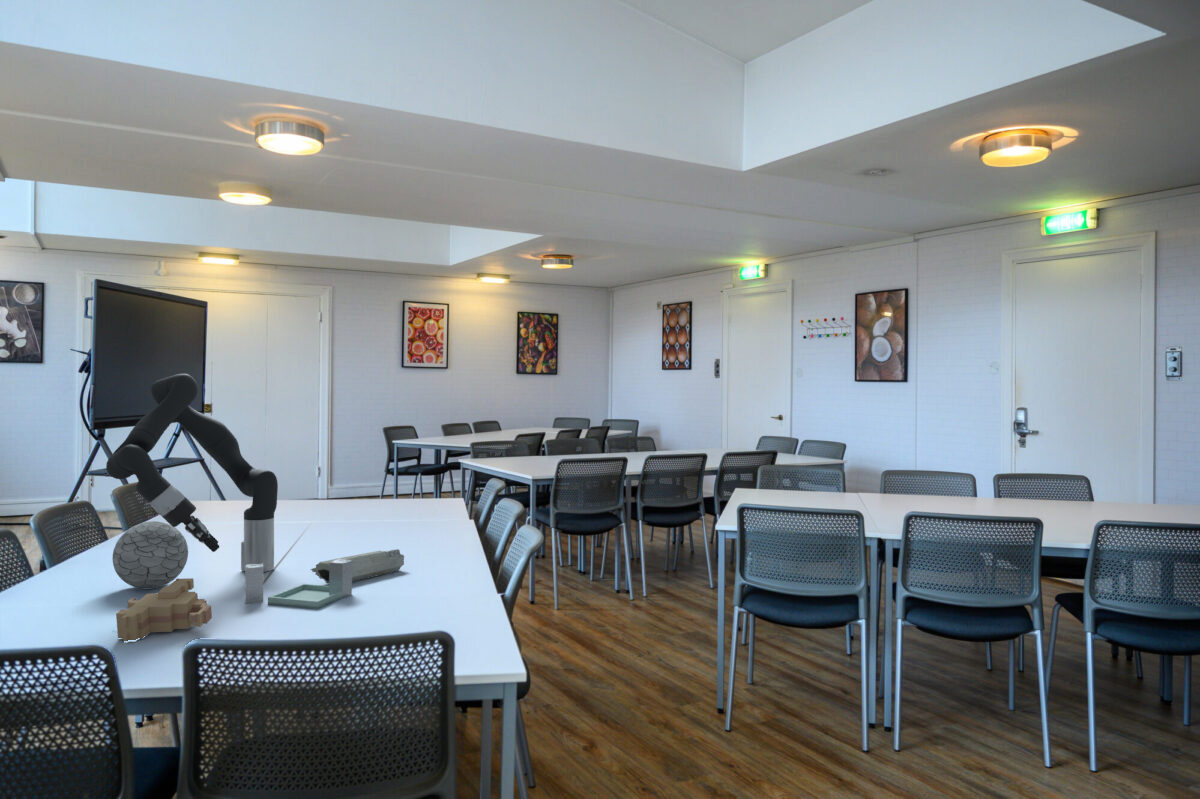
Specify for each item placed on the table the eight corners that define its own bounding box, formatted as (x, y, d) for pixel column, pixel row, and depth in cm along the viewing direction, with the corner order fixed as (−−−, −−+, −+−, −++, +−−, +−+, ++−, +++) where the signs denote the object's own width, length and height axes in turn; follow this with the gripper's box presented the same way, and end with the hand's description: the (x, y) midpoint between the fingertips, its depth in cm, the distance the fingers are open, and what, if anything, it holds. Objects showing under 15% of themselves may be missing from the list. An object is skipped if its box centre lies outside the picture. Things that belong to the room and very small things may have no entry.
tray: (267, 604, 223) (267, 597, 223) (303, 590, 238) (303, 583, 238) (317, 608, 219) (317, 601, 218) (350, 594, 234) (350, 587, 234)
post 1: (245, 603, 223) (245, 568, 223) (246, 599, 228) (246, 564, 227) (262, 602, 225) (262, 566, 225) (263, 598, 229) (263, 563, 229)
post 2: (329, 596, 231) (329, 562, 231) (338, 592, 235) (339, 559, 235) (342, 598, 230) (342, 563, 230) (351, 594, 234) (352, 560, 234)
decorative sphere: (96, 592, 234) (96, 524, 233) (155, 577, 252) (155, 514, 252) (146, 599, 227) (146, 529, 227) (203, 583, 245) (203, 518, 245)
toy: (147, 578, 207) (106, 611, 187) (225, 578, 208) (192, 610, 188) (150, 614, 208) (109, 650, 188) (227, 613, 210) (195, 649, 190)
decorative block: (404, 571, 264) (404, 549, 264) (326, 590, 239) (327, 565, 239) (388, 568, 268) (388, 546, 268) (311, 586, 243) (311, 561, 243)
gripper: (161, 512, 222) (204, 553, 227) (160, 518, 209) (205, 561, 214) (184, 493, 225) (226, 534, 230) (184, 498, 212) (228, 541, 217)
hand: (216, 547), depth 222 cm, fingers open, 8 cm apart
